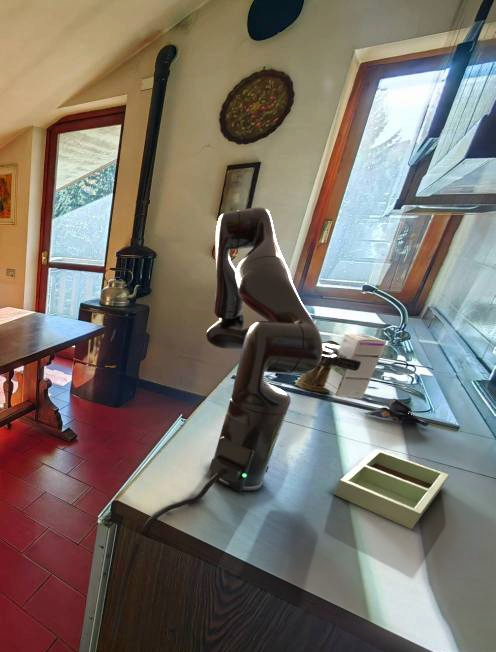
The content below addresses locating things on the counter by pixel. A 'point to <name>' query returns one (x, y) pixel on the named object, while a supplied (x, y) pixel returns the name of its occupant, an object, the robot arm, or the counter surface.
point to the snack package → (396, 412)
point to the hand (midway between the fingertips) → (365, 363)
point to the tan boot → (316, 377)
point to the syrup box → (357, 381)
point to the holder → (391, 487)
